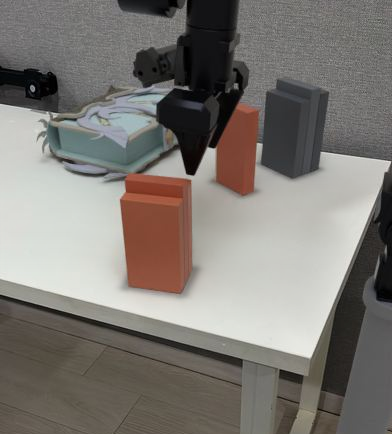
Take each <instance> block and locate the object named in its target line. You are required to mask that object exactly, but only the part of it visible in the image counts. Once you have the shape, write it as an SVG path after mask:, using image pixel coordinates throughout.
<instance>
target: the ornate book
mask: <svg viewBox="0 0 392 434" xmlns="http://www.w3.org/2000/svg"><path fill="white" fill-rule="evenodd" d="M140 87H143V86H142V84H140ZM140 87H135V86H118V87H117V88H116V87H114V85H113V84H110V85H109V86H108V88H107V90H106V92H105V94H102V95H98V96H96V97H94V98H93V99H92V100H91V101H86V102H83V103H81V104H79V105H78V106H77V107H75V108H73V109H71V110H69V111H66V112H62V113H58V114H57V115H56V117H54V115H53V113H52V112H51V111H50V110H47V113H48V115H49V120H48V121H47V120H46V119H45V118H41V119H39V120H37V123H42V124H43V128H44V129H45V130H42V131H40V132H39V133H38V135H37V137H36V143H37V142H38V140H39V139H40V138H44V140H43V142H42V146H41V151H42V153H43V155H45V147H46V146H47V145H48V149H49V152H50V154H51V155H53V156H56V158H57V157H58V158H61V159H66V160H70V161H72V162H73V163H74V164H73V163H69V162H67V161H64V160H62V161H61V162H62V164H63V165H64V166H65V167H66V168H68V169H70V170H72V171H76V172H80V173H86V174H104V175H103V176H102V177H103V179H113V178H122V177H127V176H128V175H129V173H135V174H137V173H139V172H141V171H143V170H145V169H146V168H147V165H148V164H150V163H152V162H153V161H155V160H157V159H159V158H160V155H161V154H162V153H165V152H167V151H168V150H170V149H173V148H174V146H177V145H178V146H179V144H178V141H177V138H176V136H175V134H174V133H173V132H172V131H171V130H170V129H167V128H164V127H163V126H162V124H159V123H157V122H156V104H157V103H158V102H159V101H160V100H161V99H163V98H164V97H165V96H166V95H167V94H168V93H169V92H171V91H172V90H173V89H172V88H164V87H163V88H161V87H160V88H158V87H156V85H155V84H153V85H152V86H151V87H148V88H140ZM183 89H184V90H189V89H188V87H186V88H183ZM190 91H191V90H190Z"/></svg>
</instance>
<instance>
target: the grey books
mask: <svg viewBox="0 0 392 434" xmlns="http://www.w3.org/2000/svg"><path fill="white" fill-rule="evenodd" d="M329 98H330V91H328V90H325V89H323V88H322V87H320V86H317V85H313V84H311V83H307V82H304V81H301V80H299V79H298V80H297V79H294V78H291V77H288V76H281V77H279V78H276V83H275V88H272V89H267V90H266V91H265V104H264V116H263V131H262V143H261V144H262V145H261V159H260V165H262V166H264V167H267V168H269V169H271V170H273V171H275V172H277V173H279V174H281V175H284V176H286V177H288V178H290V179H295V178H299V177H301V176H303V175H306V174H308V173H312V172H314V171H316V170H319V169H320V168H319V167H320V161H321V155H322V147H323V140H324V134H325V126H326V120H327V119H326V118H327V111H328V105H329Z"/></svg>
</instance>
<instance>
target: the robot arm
mask: <svg viewBox="0 0 392 434" xmlns="http://www.w3.org/2000/svg"><path fill="white" fill-rule="evenodd" d="M116 2H117V5H118V7H119V9H120V11H122V12H125V13H131V14H137V15H144V16H152V17H158V18H159V17H160V18H166V19H173V18H174V16H176V13H177V11H178V10H183V8H184V6H185V4H186V7H185V10H186V11H185V26H184V27H185V30H184V32H182V33H181V34H180V35H179V36H178V37H177V38H176V43H174V44H170V45H166V46H163V47H159V48H155V47H153V46H149V48H147V49H140V50H138V51H137V52H135V59H134V61H132V64H133V70H132V76H133V77H134V78H136V79H138V81H139V82H141V85H142V86H141V87H142V89H146V88H149V87H151V86H152V85H157V84H161V83H166V82H169V81H173V86H175V87H174V88H173V89H172V91H171V92H167V93H168V94H167V95H166V96H165V97H164V98H163V99H161V100H160V101H159V102H158V103H157V104H156V122H157V123H159V124H162V126H163V127H164V128H167V129H170V130H171V131H172V132H173V133H174V134H175V136H176V138H177V141H178V148H179V152H180V156H181V159H182V163H183V167H184V171H185V175H187V176H192V177H195V176H196V174H197V172H198V170H199V168H200V166H201V163H202V161H203V159H204V156H205V154H206V152H207V149H208V148H209V149H215V150H216V147H217V145H218V143H219V141H220V139H221V137H222V135H223V133H224V131H225V129H226V127H227V125H228V123H229V121H230V119H231V117H232V115H233V113H234V111H235V109H236V107H237V105H238V103H240V101H241V99H242V97H243V96H244V94H245V89H246V88H247V87H248V86H249V79H250V72H251V71H250V69H249V67H248V66H247V64H246V63H245V61H243V60H236V59H235V52H236V47H237V46H238V45H240V43H241V35H242V34H241V33H239V32H237V31H238V23H239V22H238V21H239V14H240V13H239V12H240V3H241V0H116ZM235 84H237V88H236V87H235ZM178 87H181V88H178ZM184 87H187V88H188V89H189V90H184V89H185V88H184ZM190 90H191V91H190ZM382 180H383V181H382V185H381V193H380V195H379V196H378V197H377V198H376V204H375V211H374V217H373V225H376V224H378V226H377V235H378V238H379V239H380V241H381V242H382V243H383V245H385V248H384V252H380V253H379V254H378V259H377V262H376V266H375V270H374V274H373V275H374V279H373V288H374V289H376V300H377V301H381V302H389V303H392V173H391V172H388V171H384V173H383V179H382Z"/></svg>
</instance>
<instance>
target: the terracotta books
mask: <svg viewBox="0 0 392 434" xmlns="http://www.w3.org/2000/svg"><path fill="white" fill-rule="evenodd" d="M192 184H193V183H192V179H187V178H183V177H174V176H163V175H154V174H143V173H129V175H128V176H125V178H124V190H125V192H124V193H123V195H122V196H120V198H119V206H120V215H121V226H122V235H123V246H124V257H125V265H126V275H127V276H126V277H127V285H128V287H131V288H138V289H146V290H152V291H159V292H166V293H173V294H180V295H181V294H182V292H183V290H184V288H185V286H186V284H187V282H188V279H189V277H190V275H191V273H192V271H193V193H192V192H193V188H192Z"/></svg>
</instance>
